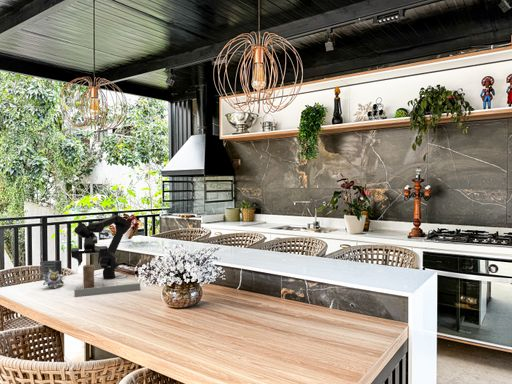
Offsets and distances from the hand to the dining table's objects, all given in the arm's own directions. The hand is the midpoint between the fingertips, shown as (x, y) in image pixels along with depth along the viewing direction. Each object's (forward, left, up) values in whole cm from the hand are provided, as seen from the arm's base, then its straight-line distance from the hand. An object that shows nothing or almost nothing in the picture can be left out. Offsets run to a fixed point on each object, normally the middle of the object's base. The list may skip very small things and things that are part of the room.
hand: (89, 264), depth 215 cm
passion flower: (+20, -13, -14) cm, 27 cm away
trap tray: (-10, +8, -13) cm, 18 cm away
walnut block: (0, +8, -13) cm, 16 cm away
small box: (+24, -41, -14) cm, 49 cm away
